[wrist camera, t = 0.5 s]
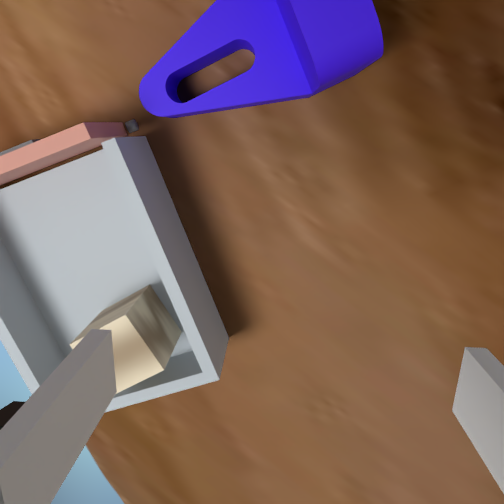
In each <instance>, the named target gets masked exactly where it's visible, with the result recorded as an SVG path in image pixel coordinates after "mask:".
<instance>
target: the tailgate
mask: <svg viewBox="0 0 504 504" xmlns="http://www.w3.org/2000/svg"><path fill="white" fill-rule="evenodd" d="M127 135H128V134H127V132H126V129H125V127H124V125H123V122H83V123H81V124H78V125H76V126H73V127H71V128H68V129H66V130H63V131H61V132H58V133H56V134H53V135H51V136H49V137H46V138H44V139H36V140H30V141H27V142H25V143H22V144H20V145H18V146H15V147H13V148H10V149H8V150H5V151H3V152H0V185H3V184H5V183H8V182H10V181H13V180H15V179H18V178H20V177H23V176H26V175H28V174H31V173H33V172H36V171H38V170H41V169H43V168H46V167H48V166H51V165H54V164H56V163H59V162H61V161H64V160H66V159H69V158H71V157H74V156H76V155H79V154H81V153H84V152H87V151H89V150H92V149H94V148H97V147H99V146H102V144H101V143H102V142H104V141H107V140H110V139H112V138H116V137H125V136H127Z"/></svg>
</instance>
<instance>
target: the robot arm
mask: <svg viewBox="0 0 504 504" xmlns="http://www.w3.org/2000/svg"><path fill="white" fill-rule="evenodd" d="M116 392H117V389H116V378H115V367H114V355H113V344H112V332H111V330H103V329H91V330H90V331H89V332H88V333H87V334H86V336H85V337H84V338H83V339H82V340H81V341H80V342H79V343H78V344H77V346H76V347H75V348H74V349H73V350H72V351H71V352H70V353H69V354H68V356H67V357H66V358H65V359H64V360H63V361H62V362H61V363H60V364H59V366H58V367H57V368H56V369H55V370H54V371H53V372H52V373H51V374H50V376H49V377H48V378H47V379H46V380H45V381H44V382H43V383H42V384H41V386H40V387H39V388H38V389H37V390H36V391H35V392H34V393H33V394H32V396H31V397H30V398H29V399H28V400H27V401H26V402H17V401H13V402H12V403H10V404H9V405H7V406H5V407H4V408H2V409H1V410H0V504H50V503H51V502H52V500H53V498H54V497H55V495H56V493H57V492H58V490H59V488H60V487H61V485H62V483H63V481H64V480H65V478H66V476H67V474H68V473H69V471H70V470H71V468H72V466H73V465H74V463H75V461H76V460H77V458H78V456H79V454H80V453H81V451H82V450H83V448H84V446H85V444H86V443H87V441H88V439H89V438H90V436H91V434H92V433H93V431H94V429H95V428H96V426H97V424H98V423H99V421H100V419H101V418H102V416H103V414H104V412H105V411H106V409H107V407H108V406H109V404H110V402H111V401H112V399H113V397H114V396H115V394H116ZM452 411H453V413H454V414H455V416H456V418H457V419H458V421H459V422H460V424H461V426H462V427H463V429H464V430H465V432H466V434H467V435H468V437H469V438H470V440H471V442H472V443H473V445H474V447H475V448H476V450H477V451H478V453H479V455H480V456H481V458H482V459H483V461H484V463H485V464H486V466H487V468H488V469H489V471H490V472H491V474H492V476H493V477H494V479H495V480H496V482H497V484H498V485H499V487H500V488H501V490H502V492H503V493H504V366H503V365H502V364H501V363H500V362H499V361H498V360H497V359H496V358H495V357H494V356H493V354H492V353H491V352H490V351H489V350H488V349H487V348H471V347H465V350H464V355H463V360H462V365H461V370H460V375H459V380H458V385H457V390H456V394H455V399H454V404H453V409H452Z"/></svg>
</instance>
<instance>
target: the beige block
mask: <svg viewBox="0 0 504 504" xmlns="http://www.w3.org/2000/svg"><path fill="white" fill-rule="evenodd" d="M91 329H103V330H111V332H112V344H113V355H114V367H115V378H116V389H117V392H116V394H117V393H119V392H121V391H123V390H125V389H127V388H129V387H131V386H133V385H135V384H137V383H139V382H141V381H143V380H145V379H147V378H149V377H151V376H153V375H155V374H157V373H159V372H161V371H163V370H164V369H165V367H166V365H167V363H168V361H169V359H170V356H171V354H172V352H173V350H174V348H175V346H176V344H177V341H178V339H179V337H180V335H181V333H182V331H181V330H180V328H179V327H178V325H177V324H176V322H175V321H174V320H173V318H172V317H171V315H170V314H169V312H168V311H167V309H166V308H165V306H164V305H163V303H162V302H161V300H160V299H159V297H158V296H157V294H156V293H155V291H154V290H153V288H152V287H151V285H148V286H146V287H144V288H142V289H141V290H139V291H137V292H135V293H133V294H131V295H130V296H128V297H126V298H124V299H122V300H120V301H119V302H117V303H115V304H113V305H111V306H109V307H108V308H106V309H104V310H102V311H101V312H100V313H99V314H98V315H97V316H96V317H95V318H94V320H93V321H92V322H91V323H90V324H89V325H88V326H87V327H86V328H85V329H84V330H83V331H82V332H81V333H80V334H79V335H78V336H77V337H76V338H75V339H74V340H73V341H72V342H71V343H70V346H71V348H72V349H74V348H75V347H76V346H77V344H78V343H79V342H80V341H81V340H82V339H83V338H84V337H85V336H86V334H87V333H88V332H89V331H90V330H91Z"/></svg>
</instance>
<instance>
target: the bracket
mask: <svg viewBox="0 0 504 504" xmlns="http://www.w3.org/2000/svg"><path fill="white" fill-rule="evenodd" d="M240 49H247V50H250V51H251V52H253V53H254V55H255V61H254V64H253V66H252V67H251V69H250V70H248V71H247V72H245V73H243V74H241V75H239V76H237V77H235V78H233V79H231V80H229V81H227V82H225V83H223V84H221V85H219V86H217V87H215V88H213V89H211V90H209V91H207V92H205V93H204V94H202V95H200V96H198V97H196V98H194V99H192V100H190V101H188V102H186V103H182V102H181V101H180V100H179V98H178V95H177V87H178V84H179V82H180V81H181V80H182V79H184V78H185V77H187V76H189V75H191V74H193V73H195V72H197V71H199V70H201V69H203V68H205V67H207V66H209V65H210V64H212V63H214V62H216V61H218V60H220V59H222V58H224V57H226V56H228V55H230V54H232V53H233V52H235V51H237V50H240ZM382 55H383V37H382V31H381V27H380V23H379V20H378V17H377V14H376V11H375V8H374V5H373V2H372V0H216V1H215V2H214V3H213V4H212V5H211V6H210V7H209V9H208V10H207V11H206V12H205V13H204V14H203V15H202V16H201V17H200V18H199V19H198V20H197V21H196V22H195V23H194V24H193V25H192V26H191V28H190V29H189V30H188V31H187V32H186V33H185V34H184V35H183V36H182V37H181V38H180V39H179V40H178V41H177V42H176V43H175V44H174V45H173V47H172V48H171V49H170V50H169V51H168V52H167V53H166V54H165V55H164V56H163V57H162V58H161V59H160V60H159V61H158V62H157V63H156V64H155V66H154V67H153V68H152V69H151V70H150V71H149V72H148V73H147V74H146V75H145V76H144V77H143V79H142V81H141V83H140V86H139V97H140V100H141V103H142V105H143V106H144V107H145V109H146V110H147V111H148V112H150V113H151V114H153V115H156V116H161V117H169V118H178V117H184V116H191V115H197V114H204V113H210V112H217V111H223V110H230V109H237V108H243V107H250V106H256V105H263V104H269V103H276V102H282V101H289V100H295V99H302V98H309V97H311V96H313V95H315V94H317V93H319V92H321V91H323V90H325V89H327V88H329V87H331V86H333V85H335V84H338V83H340V82H342V81H344V80H346V79H348V78H350V77H352V76H354V75H356V74H357V73H359V72H360V71H362V70H363V69H365V68H366V67H367V66H369V65H370V64H372V63H373V62H375V61H376V60H378V59H379V58H381V57H382Z"/></svg>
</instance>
